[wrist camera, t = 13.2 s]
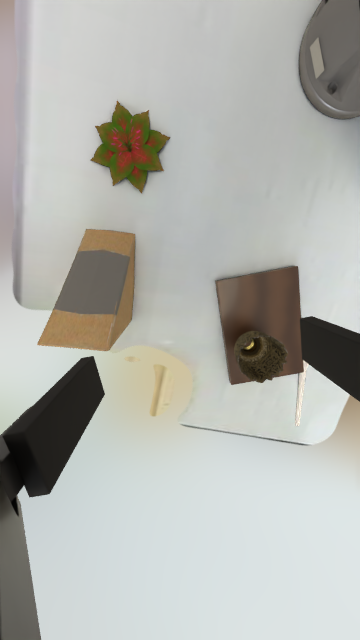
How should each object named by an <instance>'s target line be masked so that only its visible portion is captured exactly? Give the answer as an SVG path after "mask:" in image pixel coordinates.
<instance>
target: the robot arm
mask: <svg viewBox="0 0 360 640" xmlns="http://www.w3.org/2000/svg"><path fill="white" fill-rule="evenodd" d="M299 72H300V78H301V83H302V86H303V89H304V91H305V93H306V96H307V97H308V99H309V100H310V102H311V103H312V104H313V105H314V106H315V108H317V109H318V110H319V111H320V112H322V113H323V114H325V115H327V116H330V117H333V118H338V119H349V118H354V117H357V116H360V0H322V1H321V3H320V4H319V6H318V8H317V9H316V11H315V13H314V15H313V17H312V19H311V20H310V22H309V24H308V26H307V28H306V31H305V33H304V36H303V40H302V43H301V48H300V55H299ZM300 333H301V351H302V360H304V361H305V362H307V363H308V364H309V365H311V366H312V367H313V368H315V369H316V370H317V371H319V372H320V373H321V374H323V375H324V376H326V377H327V378H328V379H330V380H331V381H332V382H334V383H335V384H336V385H338V386H339V387H341V388H342V389H343V390H345V391H346V392H347V393H349V394H350V395H351V396H353V397H354V398H356V399H357V400H358V401H360V334H359V333H356V332H353V331H351V330H348V329H345V328H343V327H340V326H337V325H334V324H332V323H329V322H326V321H323V320H321V319H318V318H315V317H313V316H311V317H305V318H300ZM104 395H105V393H104V390H103V386H102V383H101V380H100V376H99V373H98V369H97V366H96V363H95V360H94V357H93V356H91V357H85V358H81V359H80V360H79V361H78V362H77V363H76V364H75V365H74V366H73V367H72V368H71V369H70V370H69V371H68V372H67V373H66V374H65V375H64V376H63V377H62V378H61V379H60V380H59V381H58V382H57V383H56V384H55V385H54V386H53V387H52V388H51V389H50V390H49V391H48V392H47V393H46V394H45V395H44V396H43V397H42V398H41V399H40V400H39V401H37V402H36V403H35V404H34V405H33V406H32V407H30V408H29V409H27V410H26V411H25V412H24V413H23V414H22V415H21V416H20V417H19V419H17V420H16V421H15V422H14V423H13V424H12V425H11V426H10V427H9V428H8V429H7V430H5V431H4V432H3V434H1V435H0V640H41V636H40V629H39V623H38V616H37V610H36V603H35V597H34V590H33V583H32V577H31V570H30V564H29V557H28V550H27V544H26V537H25V530H24V524H23V517H22V511H21V504H20V501H19V499H18V497H17V494H18V493H19V491H20V490H21V489H22V487H23V486H25V488H26V490H27V492H28V495H29V497H35V496H41V495H47V494H50V492H51V490H52V489H53V487H54V485H55V483H56V481H57V480H58V478H59V476H60V474H61V472H62V471H63V469H64V467H65V465H66V463H67V462H68V460H69V458H70V456H71V454H72V453H73V450H74V449H75V447H76V445H77V443H78V441H79V440H80V438H81V436H82V434H83V433H84V431H85V429H86V427H87V425H88V424H89V422H90V420H91V418H92V416H93V414H94V413H95V411H96V409H97V407H98V406H99V404H100V402H101V400H102V398H103V397H104Z"/></svg>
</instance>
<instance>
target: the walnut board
mask: <svg viewBox="0 0 360 640" xmlns="http://www.w3.org/2000/svg"><path fill="white" fill-rule="evenodd" d="M215 284H216V291H217V298H218V305H219V311H220V318H221V325H222V332H223V339H224V346H225V353H226V360H227V367H228V374H229V380H230V383H231V385H234V384H240V383H245V382H251V380H249V378H248V377H247V376H246V375H244V374H242V373H241V371H240V369H239V366H238V364H237V361H236V358H235V353H234V347H235V343H236V341H237V339H238V338H239V337H240V336H241V335H242V334H244V333H246V332H249V331H259V332H263V333H265V334H268V335H270V336H272V337H275V338H276V339H278V341H280V342H281V343H283V344H284V345H285V348H286V350H287V352H288V355H287V357H286V358H285V359H286V361H287V364H283V372H280V375H279V376H273V375H272V378H274V377H280V376H285V375H291V374H297V373H302V372H304V365H303V360H302V351H301V333H300V318H301V311H300V293H299V275H298V266H292V267H286V268H281V269H276V270H270V271H265V272H260V273H254V274H249V275H244V276H238V277H233V278H228V279H222V280H217V281H215ZM250 344H251V340H250V342H248V343H246V344H245V346H246V347H247V346H249V345H250ZM253 381H255V380H253Z"/></svg>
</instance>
